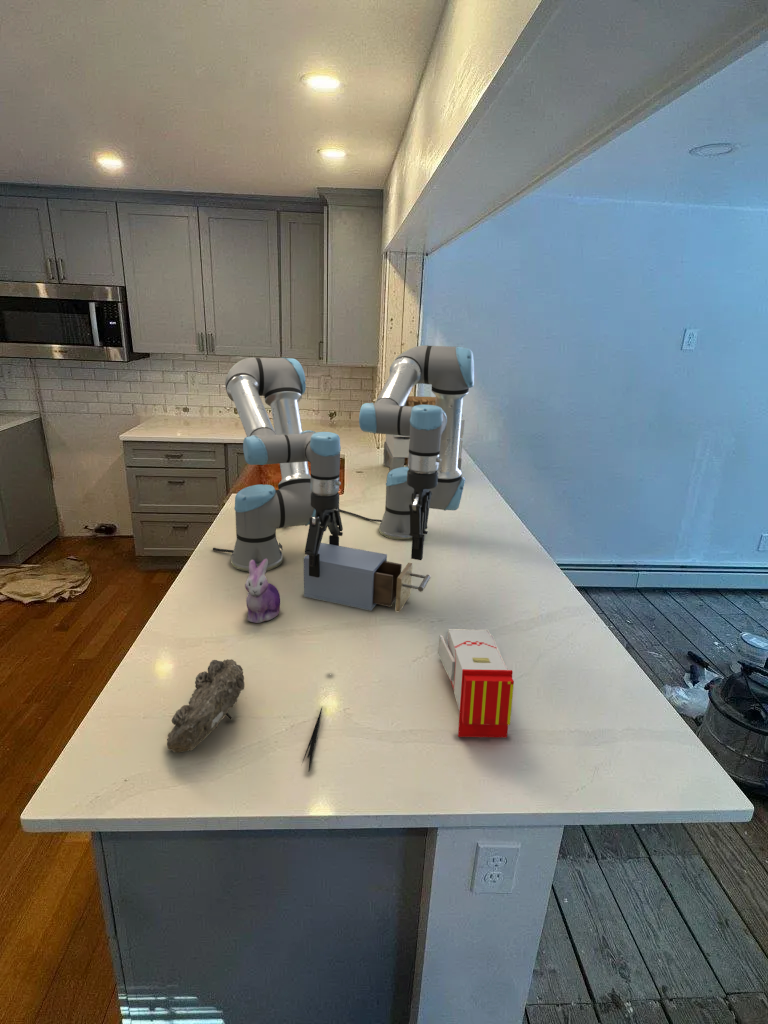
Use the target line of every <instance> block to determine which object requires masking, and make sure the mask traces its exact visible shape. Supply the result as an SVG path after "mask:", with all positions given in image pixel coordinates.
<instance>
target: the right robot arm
mask: <svg viewBox="0 0 768 1024" xmlns="http://www.w3.org/2000/svg"><path fill="white" fill-rule="evenodd" d="M474 360H475V359H474V353H473V351H472V350H471V348H467V347H460V346H449V345H447V346H446V345H429V344H425V345H417V346H413V347H411V348H409V349H407V350H405V351H403V352H402V353H400V354H399V355H398V356H397V357H395V359H394V360H393V361H392V363H391V364H390V367H389V376H388V378H387V380H386V381H385V383H384V385H383V387H382V389H381V391H380V393H379V395H378V396H377V398H376V400H375V402H365V403H362V405H361V406H360V409H359V417H358V424H359V425H358V426H359V428H360V430H361V431H362V432H364V433H371V434H373V435H376V434H378V435H386V434H390V435H401V436H410V440H409V452H408V466H404V467H400V468H396V469H393V470H391V471H390V470H389V472H388V473H387V475H386V482H385V504H384V505H385V507H384V508H385V509H384V513H383V515H382V519H376V518H369V517H366V516H362V515H360V514H357V513H353V512H350V511H348V510H343V509H341V508H339V512H340V513H344V514H346V515H350V516H354V517H357V518H360V519H362V520H366V521H370V522H375V523H376V522H378V523H379V525H378V533H379V534H380V535H381V536H382V537H385V538H387V539H389V540H395V541H410V540H411V550H410V551H411V552H410V559H411V560H415V561H423V558H424V547H425V546H424V545H425V535H428V534H429V531H427V528H428V521H429V514H430V509H433V510H442V511H457V510H458V509H459V508H460V504H461V501H462V495H463V493H464V492H463V491H464V486H465V483H466V478H465V477H464V476H462V470H461V471H460V470H459V468H458V454H459V442H460V439H461V438H460V429H461V418H463V403H464V397H466V396H467V395H468V394H469V392H470V391H469V389H471V388H473V387H474V386H475V361H474ZM417 384H420V385H421V384H422V385H431V392H432V394H434V397H436V403H435V406H434V405H416V406H414V407H410V406H404V405H405V403H406V401H407V398H408V396H410V393H411V391H412V389H413V387H415V386H416V385H417Z"/></svg>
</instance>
